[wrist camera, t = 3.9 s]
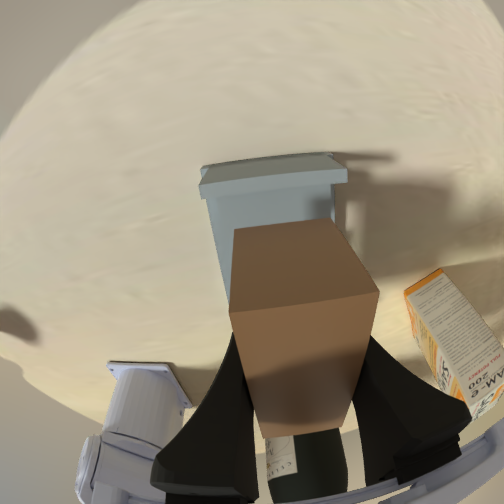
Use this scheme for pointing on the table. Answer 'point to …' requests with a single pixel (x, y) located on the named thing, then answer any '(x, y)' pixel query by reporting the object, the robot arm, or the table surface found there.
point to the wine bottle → (306, 466)
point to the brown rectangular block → (300, 323)
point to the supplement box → (456, 343)
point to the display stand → (267, 195)
